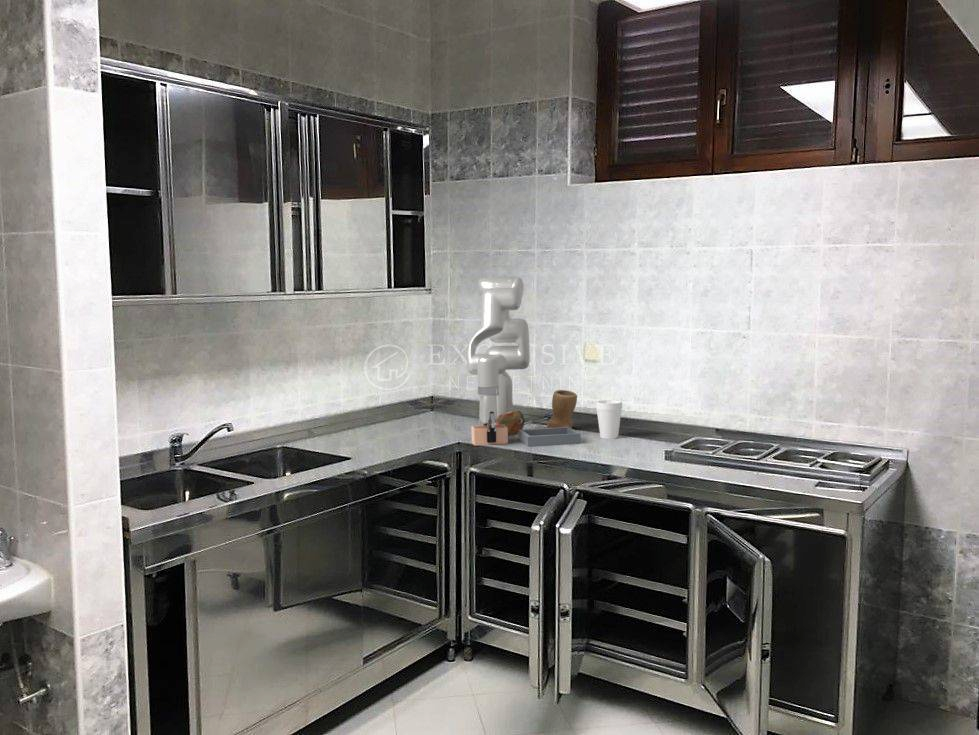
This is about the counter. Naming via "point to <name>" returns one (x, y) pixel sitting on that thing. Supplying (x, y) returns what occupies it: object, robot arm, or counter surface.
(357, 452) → the counter surface
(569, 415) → the brown boot
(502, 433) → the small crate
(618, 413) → the foam cup
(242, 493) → the counter surface
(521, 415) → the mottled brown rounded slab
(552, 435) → the grey tray
